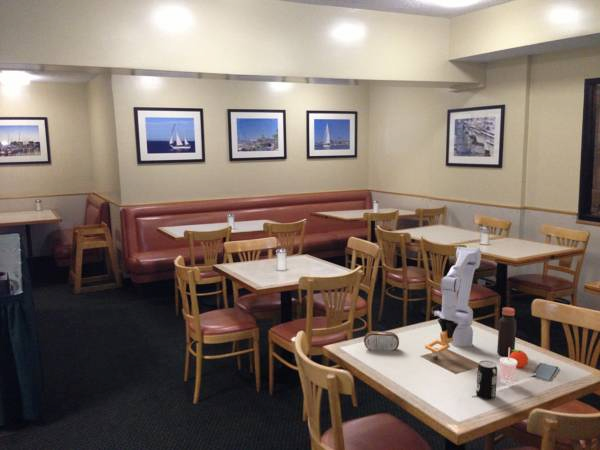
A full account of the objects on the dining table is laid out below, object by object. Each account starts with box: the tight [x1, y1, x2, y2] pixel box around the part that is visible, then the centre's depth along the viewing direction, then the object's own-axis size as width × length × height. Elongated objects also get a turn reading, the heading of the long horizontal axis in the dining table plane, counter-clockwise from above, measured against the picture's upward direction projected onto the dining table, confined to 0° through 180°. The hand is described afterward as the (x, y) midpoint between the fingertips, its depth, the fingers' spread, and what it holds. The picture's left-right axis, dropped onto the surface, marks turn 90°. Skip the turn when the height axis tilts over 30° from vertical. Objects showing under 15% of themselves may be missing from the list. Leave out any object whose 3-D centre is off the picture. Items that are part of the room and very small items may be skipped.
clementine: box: [509, 349, 529, 369], centre depth 210 cm, size 8×7×7 cm
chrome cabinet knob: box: [430, 347, 439, 360], centre depth 216 cm, size 3×3×4 cm
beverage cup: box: [499, 347, 517, 387], centre depth 194 cm, size 6×6×14 cm
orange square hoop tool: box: [424, 330, 453, 354], centre depth 216 cm, size 12×7×5 cm, turn 120°
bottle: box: [496, 306, 517, 357], centre depth 222 cm, size 7×7×20 cm
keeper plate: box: [419, 348, 479, 375], centre depth 214 cm, size 16×20×1 cm
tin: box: [363, 330, 400, 351], centre depth 225 cm, size 15×3×8 cm, turn 84°
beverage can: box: [475, 360, 499, 400], centre depth 184 cm, size 7×7×12 cm
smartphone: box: [530, 362, 560, 382], centre depth 205 cm, size 7×1×15 cm
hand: (447, 336), depth 218 cm, fingers closed on orange square hoop tool
